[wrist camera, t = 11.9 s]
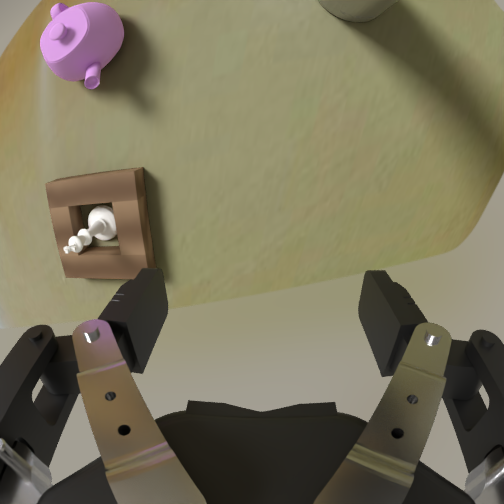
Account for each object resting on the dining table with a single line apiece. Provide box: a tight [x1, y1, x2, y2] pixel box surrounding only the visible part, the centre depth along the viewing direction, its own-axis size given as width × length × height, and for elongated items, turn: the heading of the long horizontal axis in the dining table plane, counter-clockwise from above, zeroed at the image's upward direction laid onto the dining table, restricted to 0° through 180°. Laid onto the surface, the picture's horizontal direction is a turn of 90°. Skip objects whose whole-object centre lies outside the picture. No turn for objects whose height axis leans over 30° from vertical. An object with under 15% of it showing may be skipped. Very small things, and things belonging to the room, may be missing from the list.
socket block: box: [45, 167, 156, 279], centre depth 36 cm, size 14×14×3 cm
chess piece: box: [63, 205, 117, 253], centre depth 33 cm, size 5×5×10 cm
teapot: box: [40, 2, 124, 89], centre depth 24 cm, size 10×15×9 cm
